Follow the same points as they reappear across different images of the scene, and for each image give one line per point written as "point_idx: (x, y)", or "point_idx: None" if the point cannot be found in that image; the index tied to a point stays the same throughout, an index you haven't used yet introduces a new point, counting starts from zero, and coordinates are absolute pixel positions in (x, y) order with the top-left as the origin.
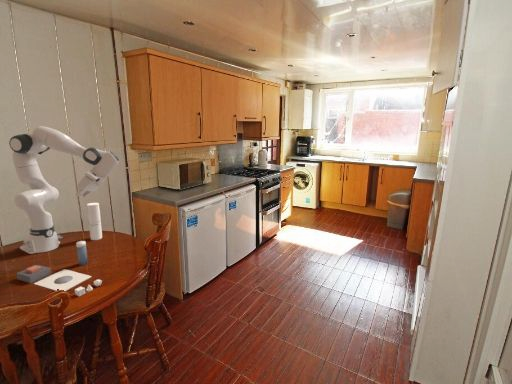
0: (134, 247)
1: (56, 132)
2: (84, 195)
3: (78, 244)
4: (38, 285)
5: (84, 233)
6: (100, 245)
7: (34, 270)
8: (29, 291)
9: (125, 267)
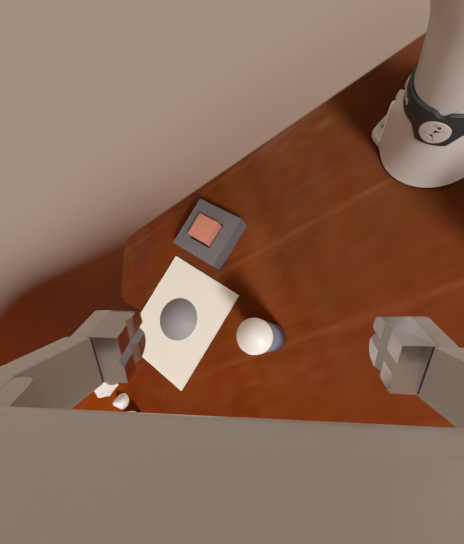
0: None
1: None
2: (378, 353)
3: (237, 332)
4: (167, 270)
5: None
6: None
7: (194, 237)
8: (147, 265)
9: None
